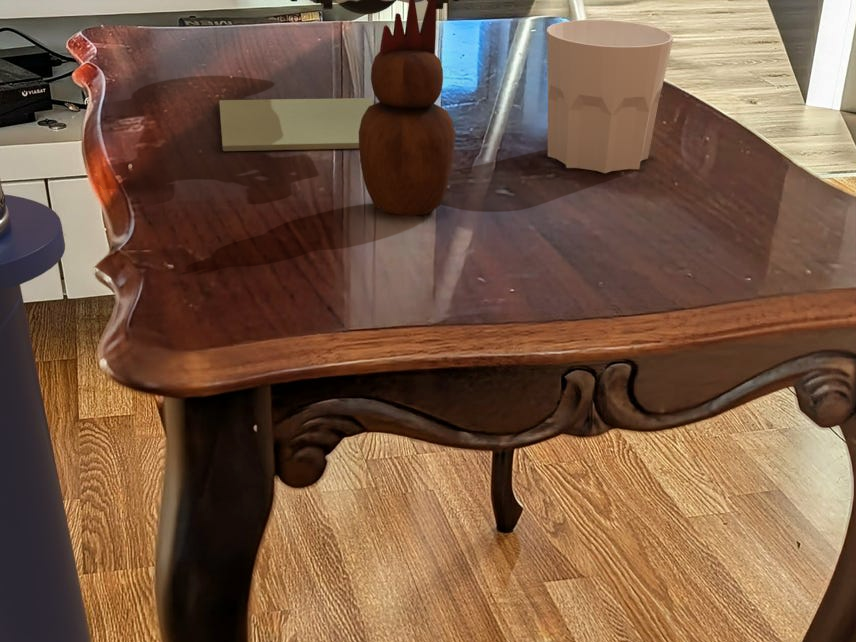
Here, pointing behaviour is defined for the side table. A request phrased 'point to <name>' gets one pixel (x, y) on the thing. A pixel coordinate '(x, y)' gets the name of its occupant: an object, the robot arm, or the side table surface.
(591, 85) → the cup
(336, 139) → the mat
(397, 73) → the wooden figurine
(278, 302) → the side table surface
